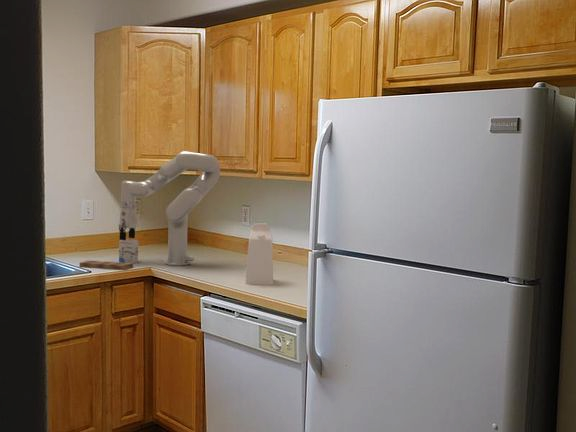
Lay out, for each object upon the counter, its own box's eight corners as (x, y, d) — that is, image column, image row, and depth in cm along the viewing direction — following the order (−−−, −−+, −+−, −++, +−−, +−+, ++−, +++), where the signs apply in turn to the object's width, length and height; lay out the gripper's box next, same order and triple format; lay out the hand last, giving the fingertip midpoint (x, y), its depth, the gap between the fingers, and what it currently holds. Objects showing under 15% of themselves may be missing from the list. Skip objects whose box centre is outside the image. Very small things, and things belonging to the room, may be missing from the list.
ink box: (118, 262, 305) (118, 239, 304) (123, 261, 310) (123, 238, 309) (133, 264, 303) (133, 240, 302) (138, 262, 308) (138, 239, 307)
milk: (272, 279, 274) (274, 222, 271) (273, 284, 262) (274, 225, 260) (246, 278, 273) (247, 221, 271) (245, 284, 262) (246, 224, 260)
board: (133, 267, 294) (133, 263, 294) (125, 270, 286) (125, 265, 286) (88, 264, 299) (88, 260, 299) (79, 266, 291) (79, 262, 291)
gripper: (127, 206, 295) (126, 241, 296) (142, 204, 312) (141, 237, 313) (113, 205, 296) (112, 240, 298) (129, 203, 313) (128, 236, 315)
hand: (127, 239), depth 305 cm, fingers open, 9 cm apart
